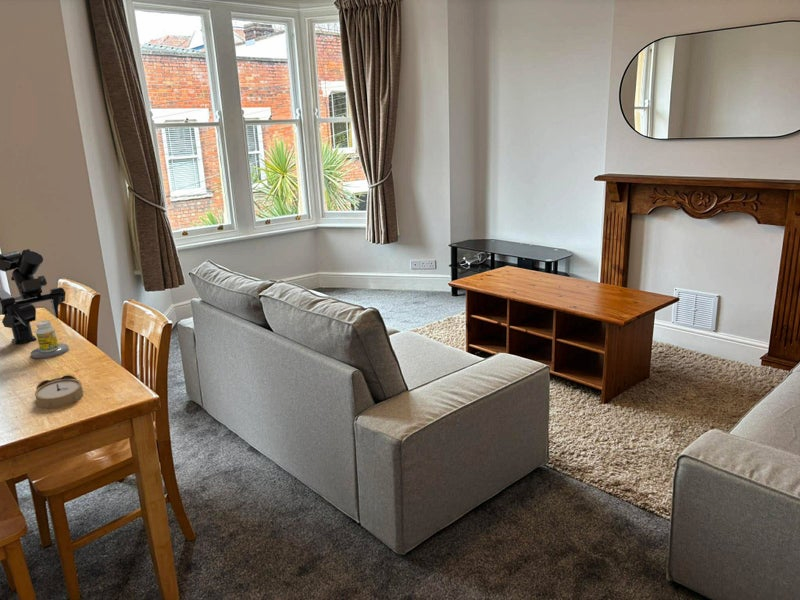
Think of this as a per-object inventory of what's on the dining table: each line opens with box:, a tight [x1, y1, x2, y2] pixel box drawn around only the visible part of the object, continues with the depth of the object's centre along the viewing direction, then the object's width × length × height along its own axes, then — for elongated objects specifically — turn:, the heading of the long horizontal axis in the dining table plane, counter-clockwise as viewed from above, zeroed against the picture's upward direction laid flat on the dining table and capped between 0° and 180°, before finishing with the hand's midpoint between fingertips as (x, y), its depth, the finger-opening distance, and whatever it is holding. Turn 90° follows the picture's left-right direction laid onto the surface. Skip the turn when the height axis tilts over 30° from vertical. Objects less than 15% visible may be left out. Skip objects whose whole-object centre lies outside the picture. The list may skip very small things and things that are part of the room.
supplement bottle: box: [35, 320, 59, 352], centre depth 200 cm, size 5×5×10 cm
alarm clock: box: [34, 374, 84, 409], centre depth 167 cm, size 11×5×15 cm
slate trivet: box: [30, 343, 70, 360], centre depth 201 cm, size 11×11×1 cm
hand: (42, 321), depth 199 cm, fingers open, 9 cm apart
